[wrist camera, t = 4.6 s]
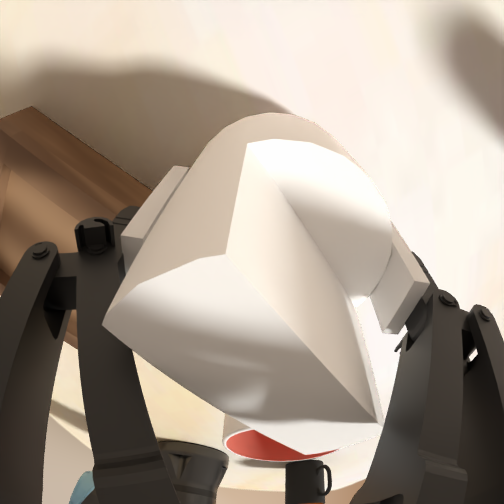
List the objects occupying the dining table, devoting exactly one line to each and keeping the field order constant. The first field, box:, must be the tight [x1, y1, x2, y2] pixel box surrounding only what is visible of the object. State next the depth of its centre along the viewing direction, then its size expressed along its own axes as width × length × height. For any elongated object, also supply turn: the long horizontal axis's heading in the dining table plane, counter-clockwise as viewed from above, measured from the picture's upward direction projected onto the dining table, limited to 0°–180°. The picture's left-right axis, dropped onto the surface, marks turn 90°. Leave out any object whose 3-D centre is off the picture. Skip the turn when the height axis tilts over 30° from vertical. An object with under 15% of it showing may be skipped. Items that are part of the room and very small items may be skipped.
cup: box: [222, 413, 342, 461], centre depth 24 cm, size 10×10×10 cm
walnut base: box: [0, 106, 153, 349], centre depth 20 cm, size 16×16×4 cm
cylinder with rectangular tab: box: [102, 112, 393, 455], centre depth 11 cm, size 9×9×12 cm
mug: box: [285, 460, 332, 504], centre depth 48 cm, size 8×12×10 cm
